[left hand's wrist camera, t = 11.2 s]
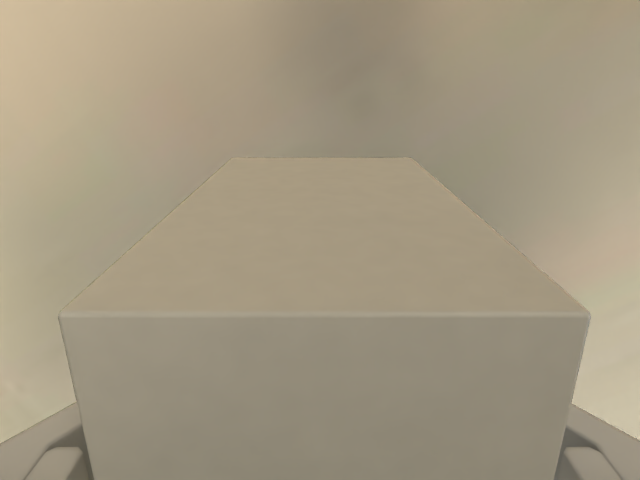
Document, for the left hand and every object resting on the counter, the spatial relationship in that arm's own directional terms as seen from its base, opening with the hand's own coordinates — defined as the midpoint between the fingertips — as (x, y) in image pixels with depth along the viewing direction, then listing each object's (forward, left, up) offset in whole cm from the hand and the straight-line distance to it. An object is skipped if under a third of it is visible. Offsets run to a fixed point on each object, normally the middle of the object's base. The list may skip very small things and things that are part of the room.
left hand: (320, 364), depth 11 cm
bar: (+7, -1, -3) cm, 8 cm away
